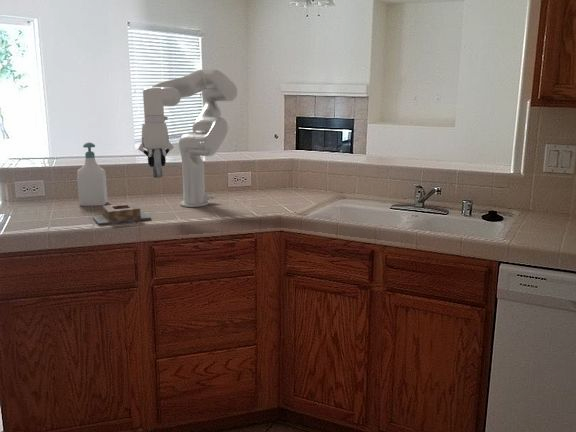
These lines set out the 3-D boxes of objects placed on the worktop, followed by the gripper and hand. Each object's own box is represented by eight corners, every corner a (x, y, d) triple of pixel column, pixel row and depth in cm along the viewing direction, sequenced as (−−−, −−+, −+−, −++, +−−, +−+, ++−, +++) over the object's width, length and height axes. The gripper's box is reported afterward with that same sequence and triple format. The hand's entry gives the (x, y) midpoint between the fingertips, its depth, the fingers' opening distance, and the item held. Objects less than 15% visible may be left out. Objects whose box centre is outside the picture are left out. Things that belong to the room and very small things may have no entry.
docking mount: (143, 213, 226) (142, 201, 225) (151, 219, 216) (150, 207, 215) (92, 219, 217) (91, 206, 216) (98, 225, 206) (97, 213, 205)
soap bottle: (108, 201, 250) (104, 141, 244) (105, 205, 242) (100, 143, 236) (83, 201, 249) (78, 141, 242) (79, 205, 241) (74, 143, 234)
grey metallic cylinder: (161, 175, 223) (159, 146, 220) (164, 177, 219) (162, 147, 216) (151, 176, 221) (149, 146, 218) (154, 178, 217) (152, 147, 215)
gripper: (172, 118, 222) (174, 163, 226) (130, 120, 214) (133, 166, 218) (178, 119, 215) (180, 165, 220) (135, 121, 207) (138, 169, 212)
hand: (157, 165), depth 219 cm, fingers closed on grey metallic cylinder, 4 cm apart
